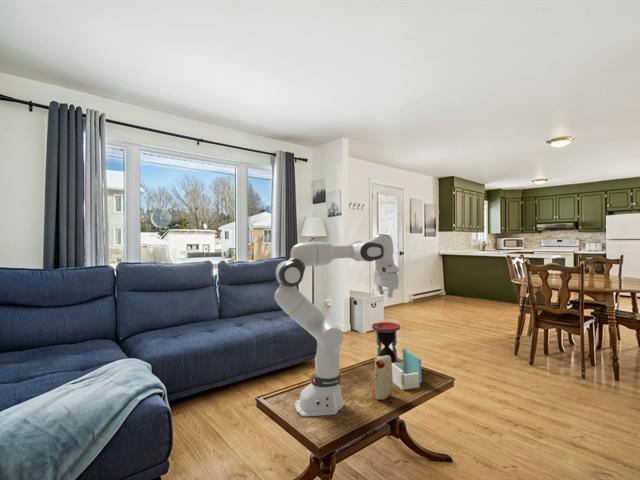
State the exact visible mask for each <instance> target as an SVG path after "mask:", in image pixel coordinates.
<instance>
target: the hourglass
mask: <svg viewBox="0 0 640 480" xmlns="http://www.w3.org/2000/svg"><path fill="white" fill-rule="evenodd" d="M371 326H372V327H371V328H372V330H374V331H375V332H376V345H377V349H376V350H377V354H376V357H377V356H386V355H389V356H390V357H391V362H392V363H397V362H398V354H397V348H396V346H397V344H398V341H397V340H398V338H397V331H399V330H400V329H401V325H400V324H399V323H396V322H390V321H380V322H375V323H373V324H372V325H371ZM382 345H383V346H384V347H382ZM390 345H392V348H391V347H390ZM373 369H374V370H375V362H373Z"/></svg>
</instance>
